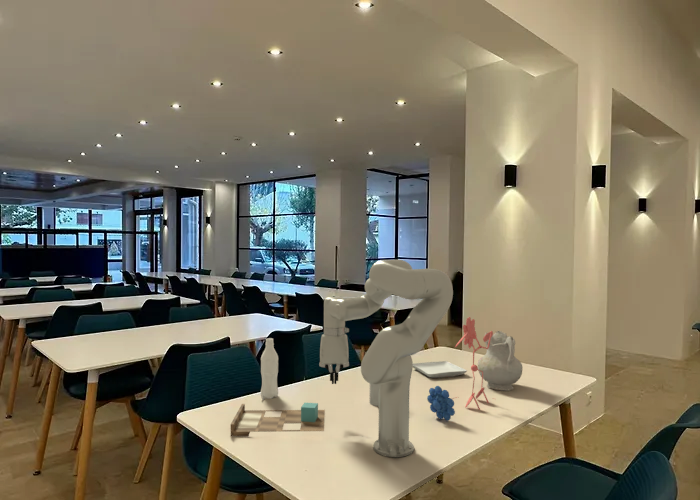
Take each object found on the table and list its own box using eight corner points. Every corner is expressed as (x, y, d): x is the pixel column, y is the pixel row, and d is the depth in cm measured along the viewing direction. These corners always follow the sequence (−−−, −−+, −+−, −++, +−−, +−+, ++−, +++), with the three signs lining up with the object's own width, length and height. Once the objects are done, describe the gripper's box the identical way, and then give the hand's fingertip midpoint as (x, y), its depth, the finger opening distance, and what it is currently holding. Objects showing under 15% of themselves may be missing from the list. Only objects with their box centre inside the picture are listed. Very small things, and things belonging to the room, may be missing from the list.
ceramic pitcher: (534, 395, 205) (538, 337, 205) (498, 396, 198) (502, 337, 198) (501, 381, 225) (505, 329, 225) (467, 382, 218) (471, 328, 218)
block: (314, 422, 165) (314, 408, 165) (301, 421, 166) (301, 407, 166) (317, 417, 170) (317, 403, 170) (304, 416, 171) (304, 402, 171)
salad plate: (409, 369, 243) (410, 362, 243) (446, 366, 249) (446, 360, 249) (428, 381, 222) (428, 373, 222) (468, 377, 229) (468, 370, 229)
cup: (388, 406, 186) (388, 376, 185) (367, 405, 187) (368, 375, 187) (390, 400, 194) (390, 371, 193) (371, 398, 195) (371, 369, 195)
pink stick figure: (498, 398, 196) (497, 314, 196) (473, 416, 176) (471, 322, 176) (464, 392, 206) (463, 312, 206) (436, 408, 185) (434, 319, 185)
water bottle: (256, 400, 192) (257, 339, 192) (267, 395, 198) (268, 336, 198) (271, 403, 189) (271, 341, 188) (281, 398, 195) (282, 338, 195)
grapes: (420, 418, 174) (420, 385, 174) (431, 413, 179) (431, 381, 178) (447, 426, 166) (448, 392, 166) (458, 421, 170) (458, 388, 170)
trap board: (323, 435, 158) (323, 423, 157) (230, 436, 156) (230, 424, 156) (324, 413, 177) (324, 403, 177) (242, 414, 176) (242, 403, 176)
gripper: (354, 329, 171) (354, 379, 172) (313, 329, 171) (313, 380, 171) (355, 333, 164) (355, 386, 164) (312, 333, 163) (312, 386, 163)
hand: (334, 382), depth 168 cm, fingers closed
